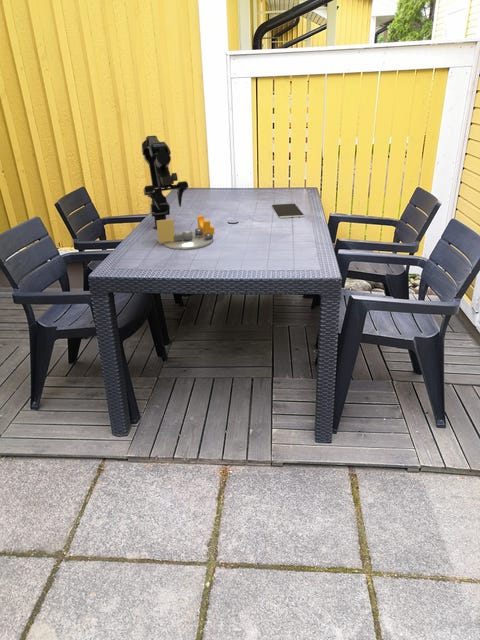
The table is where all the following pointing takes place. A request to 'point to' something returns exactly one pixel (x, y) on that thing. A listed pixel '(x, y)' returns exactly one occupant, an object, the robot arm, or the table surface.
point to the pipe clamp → (205, 225)
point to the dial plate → (191, 241)
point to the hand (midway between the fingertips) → (169, 208)
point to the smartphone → (287, 211)
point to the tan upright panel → (170, 232)
